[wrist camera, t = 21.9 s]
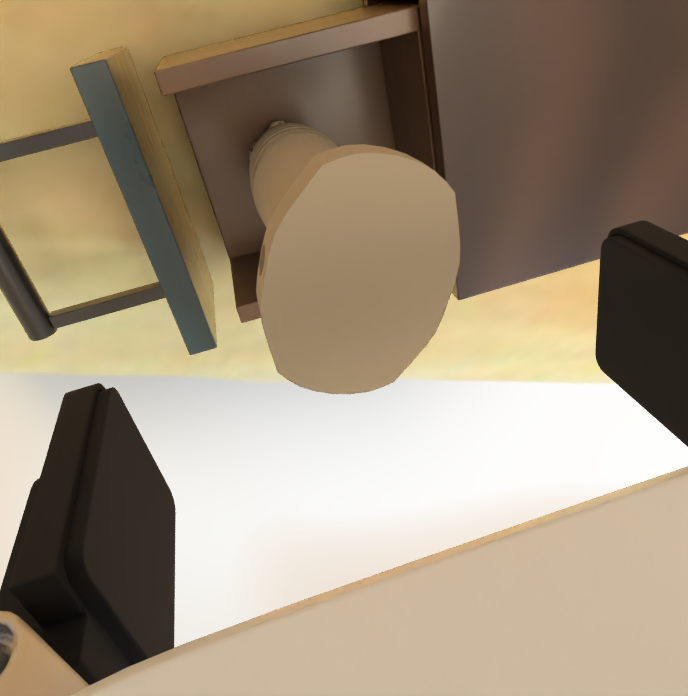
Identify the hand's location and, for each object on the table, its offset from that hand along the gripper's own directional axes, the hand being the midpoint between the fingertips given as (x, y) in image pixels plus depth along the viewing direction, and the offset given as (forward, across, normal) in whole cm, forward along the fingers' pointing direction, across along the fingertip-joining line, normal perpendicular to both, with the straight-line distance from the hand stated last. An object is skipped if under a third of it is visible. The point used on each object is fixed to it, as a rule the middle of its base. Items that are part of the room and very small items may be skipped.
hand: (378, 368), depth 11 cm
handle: (+19, -1, 0) cm, 19 cm away
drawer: (+20, +3, 0) cm, 20 cm away
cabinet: (+21, -13, 0) cm, 25 cm away
